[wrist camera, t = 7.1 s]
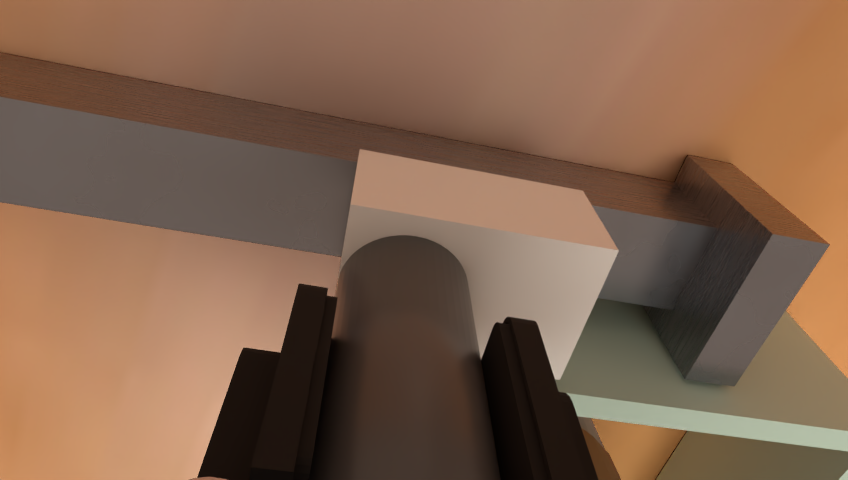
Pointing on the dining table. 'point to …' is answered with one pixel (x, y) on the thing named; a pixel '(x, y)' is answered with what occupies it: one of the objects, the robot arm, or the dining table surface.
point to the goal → (716, 400)
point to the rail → (333, 185)
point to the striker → (444, 311)
